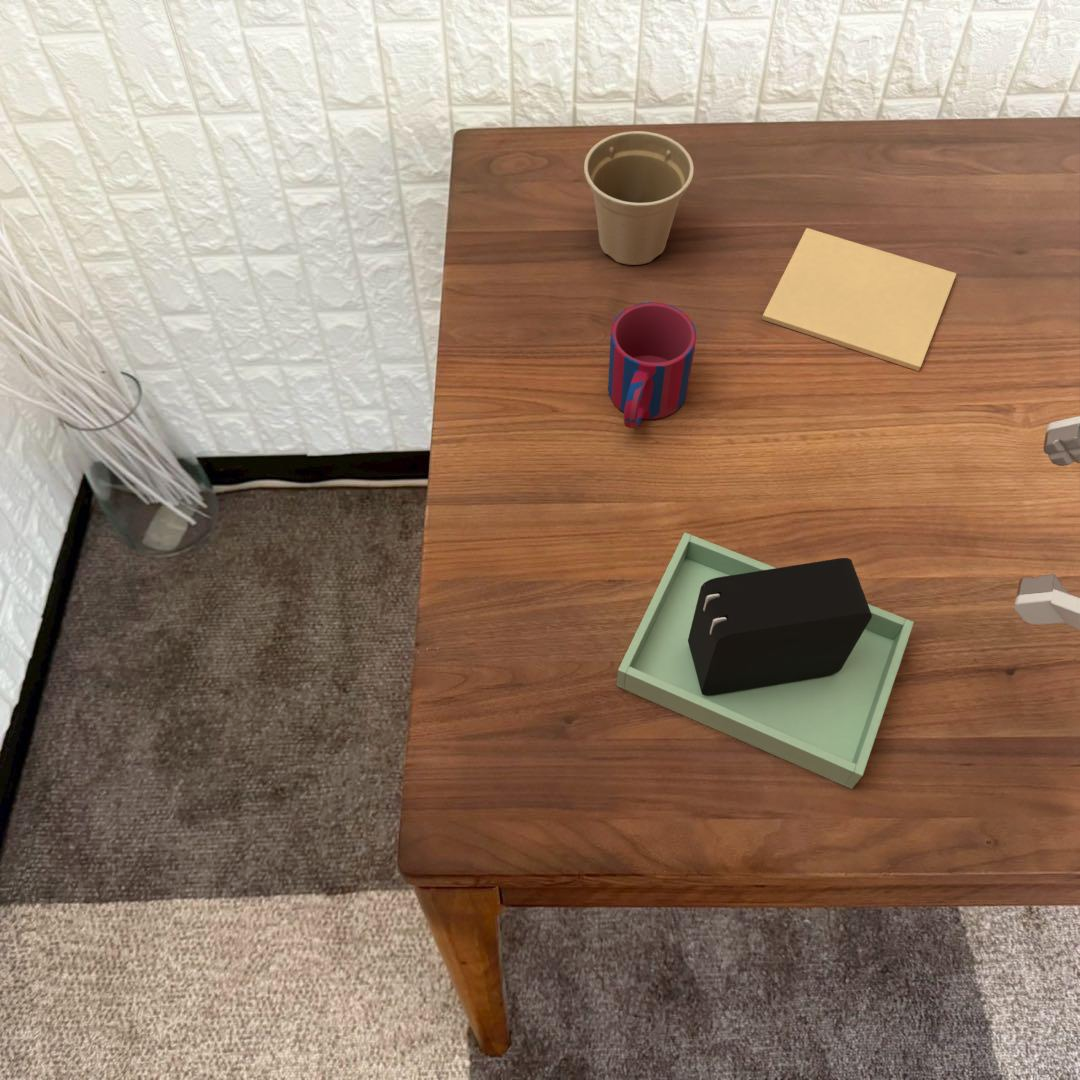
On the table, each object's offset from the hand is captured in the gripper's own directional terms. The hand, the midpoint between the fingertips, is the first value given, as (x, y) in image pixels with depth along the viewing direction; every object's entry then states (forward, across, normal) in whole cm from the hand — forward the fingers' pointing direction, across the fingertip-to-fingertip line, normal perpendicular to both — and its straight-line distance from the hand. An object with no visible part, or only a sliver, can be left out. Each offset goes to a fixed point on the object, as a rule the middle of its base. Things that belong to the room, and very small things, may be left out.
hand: (1035, 520), depth 49 cm
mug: (+36, -20, 0) cm, 41 cm away
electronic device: (+24, 0, +11) cm, 27 cm away
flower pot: (+40, -37, -4) cm, 55 cm away
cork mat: (+25, -38, +10) cm, 46 cm away
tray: (+24, 0, +11) cm, 27 cm away
